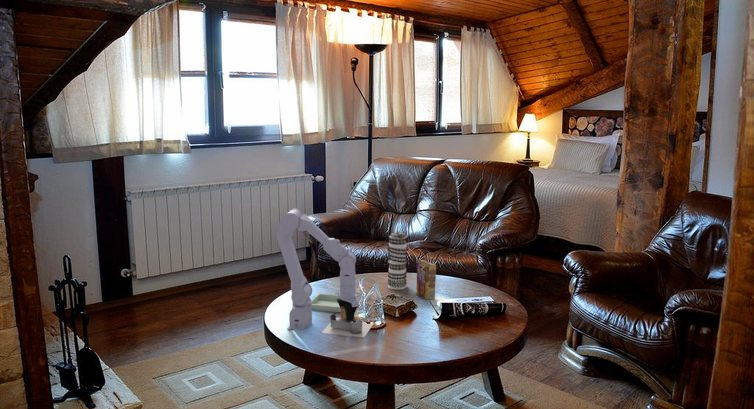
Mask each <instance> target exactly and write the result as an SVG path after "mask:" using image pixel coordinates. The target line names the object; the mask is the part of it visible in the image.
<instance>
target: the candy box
mask: <svg viewBox="0 0 754 409" xmlns="http://www.w3.org/2000/svg"><path fill="white" fill-rule="evenodd" d="M436 275H437V264H436V263H433V262H431V261H428V260H426V259H421V260H417V261H416V293H415V294H416V295H417V296H419V297H420V298H423V299H425V300H428V301H429V300H430V301H431V300H434V299H436V283H437V282H436V281H437V278H436V277H437V276H436Z"/></svg>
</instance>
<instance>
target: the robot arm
mask: <svg viewBox="0 0 754 409" xmlns="http://www.w3.org/2000/svg"><path fill="white" fill-rule="evenodd" d="M297 228H298V229H297ZM296 229H297V231H298V232H300V231H301V232H307V233H308V234H309V235H311V236H312V237H313V238H314V239H315V240H317V241H318V242H319V243H320V244H322V246H323V251H324V252H326V254H327V255H329V256H330V257H331V258H332V259H333V260H334V261H336V262H338V266H339V267H340V272H339V289H338V290H337V295H338V296H339V298H340V299H337V302H338V304H339V306H340V309H341V307H342V306H344V309H345V312H346V319H347V320H349V321H351V320H353V319H354V315H356V311H357V309H358V307H359V301H358V299H357V298H358V297H359V295H358V294H357V293H356V262H357V256H356V254H355V253H354V252H353V251H352V250H350V249H349V248H346V247H345V246H343V244H342V243H341V241H340V239H338V238H334V237H329V236H328V235H327V234H326V233H325V232H324V231H323V230H322V229H321V228H320V227H319V226H318V225H317V224H315V222H314V221H313V220H312V219H311V218H310V217H309V216H308V215H307V214H305V213H303V211H302V210H300V209H298V208H292V209H290V210H289V211H288V212H287V213H286V214H284V215H283V216H282V218H281V219H280V221H279V226H278V229H277V231H276V239H277V240H276V241H277V242H278V246H279V249H280V252H281V254H282V258H283V261H284V263H285V268H286V270H287V273H288V276H289V279H290V290H291V296H290V297H291V301H292V304H291V305H292V308H291V310H290V312H289V315H288V316H289V320H288V321H289V326H287V328H286V329H287V330H288V331H289V330H292V331H293V330H294V329H298V330H299V329H300V330H306V329H307V328H308V327H309V326H311V325H312V324H313V310H312V301H311V300H312V299H311V296H312V294H313V287H312V285H311V284H310V283H309V282H308V280H307V277H305V274H304V273H303V270H302V267H301V266H302V265H301V263H300V261H299V256H298V253H297V251H296V247H295V244H294V242H293V239H292V238H293V237H292V236H293V234H294V232H295V230H296Z"/></svg>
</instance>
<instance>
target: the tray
mask: <svg viewBox="0 0 754 409" xmlns="http://www.w3.org/2000/svg"><path fill="white" fill-rule="evenodd" d="M337 299H340V298H339V296H338V294H332V293H317V294H316V295H315V296H314V297H313V298H312V299H311V301H312V311H324V312H333V313H341V309H340V306H339V304H338V302H337Z"/></svg>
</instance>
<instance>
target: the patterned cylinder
mask: <svg viewBox="0 0 754 409" xmlns="http://www.w3.org/2000/svg"><path fill="white" fill-rule="evenodd" d="M388 238H389V239H388V241H389V242H388V244H387V259H388V261H387V262H388V271H387V274H388V275H387V277H388V278H387V288H388V289H390V290H391V289H392V290H398V291H400V290H405V289H406V288H407V284H408V283H407V281H408V279H407V274H408V273H407V267H406V265H407V263H408V260H407V259H408V257H407V255H408V254H409V253H408V251H409V250H408V248H407V235H406V234H405V233H404V232H400V231H394V232H392V233H391V234H390V235H388Z"/></svg>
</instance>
